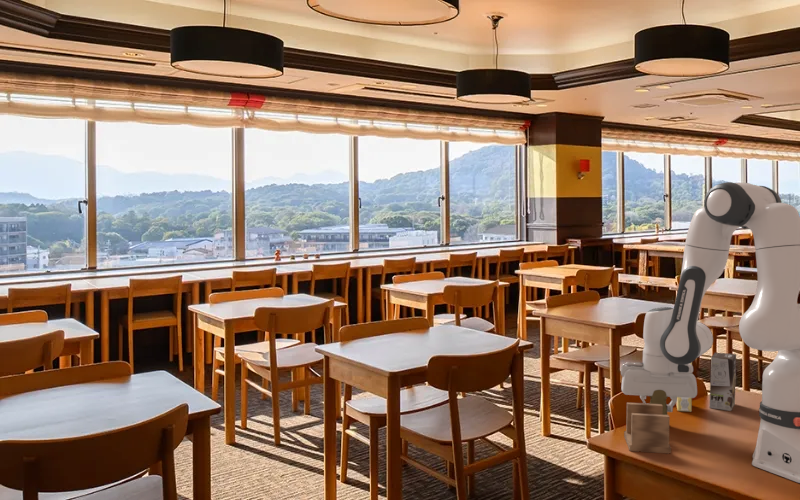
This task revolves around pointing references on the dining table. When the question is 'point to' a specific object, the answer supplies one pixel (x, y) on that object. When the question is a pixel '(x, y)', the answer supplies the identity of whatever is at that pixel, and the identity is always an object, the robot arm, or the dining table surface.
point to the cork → (659, 399)
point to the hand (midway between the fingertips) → (658, 410)
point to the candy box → (684, 403)
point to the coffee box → (722, 381)
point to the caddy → (647, 428)
